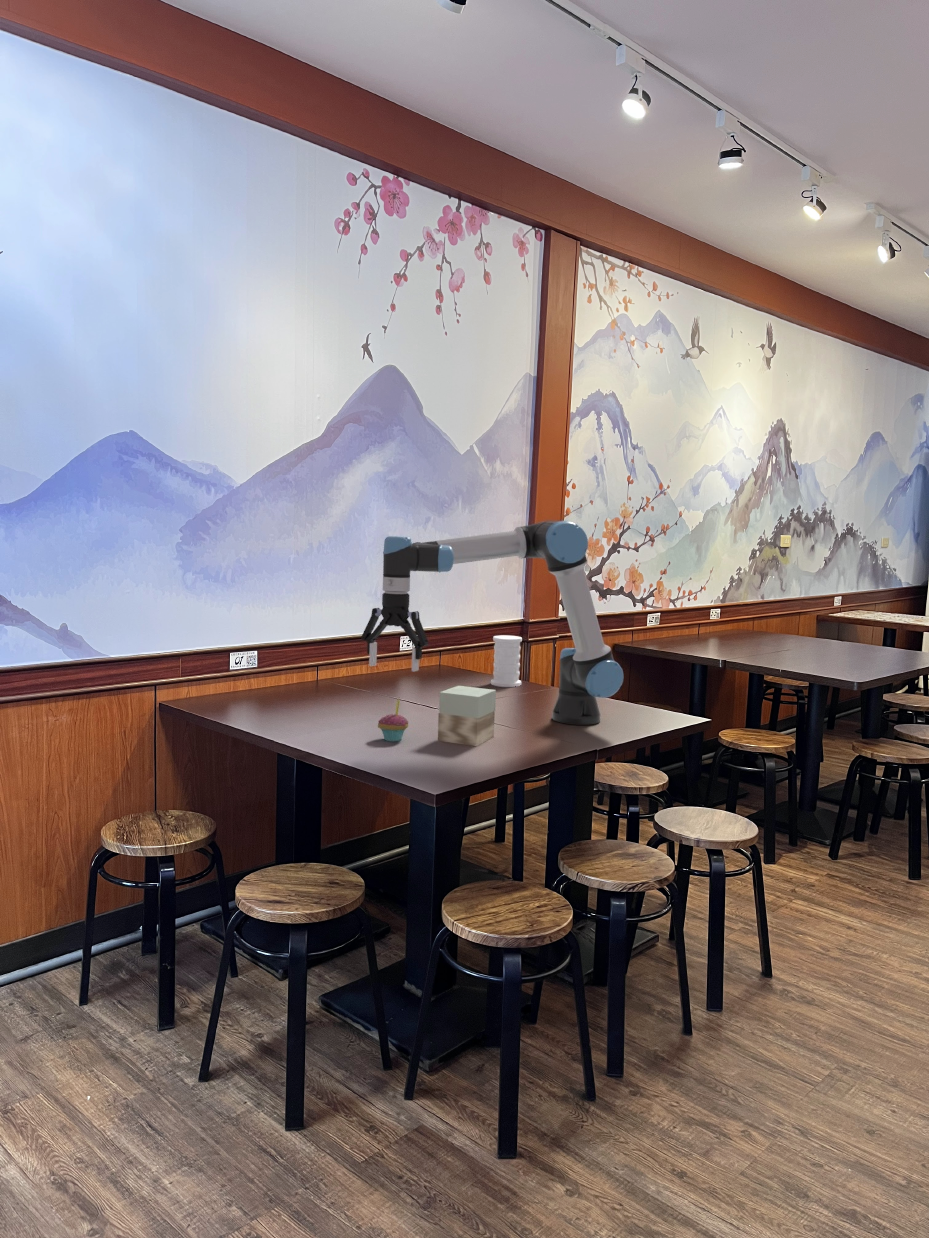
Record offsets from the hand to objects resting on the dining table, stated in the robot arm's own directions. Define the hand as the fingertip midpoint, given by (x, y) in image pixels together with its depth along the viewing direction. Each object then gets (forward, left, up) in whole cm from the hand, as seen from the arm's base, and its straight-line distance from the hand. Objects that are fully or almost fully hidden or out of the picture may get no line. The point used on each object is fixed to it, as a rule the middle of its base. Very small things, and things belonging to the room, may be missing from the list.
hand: (393, 668), depth 256 cm
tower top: (-17, -12, -13) cm, 25 cm away
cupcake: (0, 0, -21) cm, 21 cm away
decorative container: (+7, -98, -21) cm, 100 cm away
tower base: (-17, -12, -21) cm, 29 cm away
